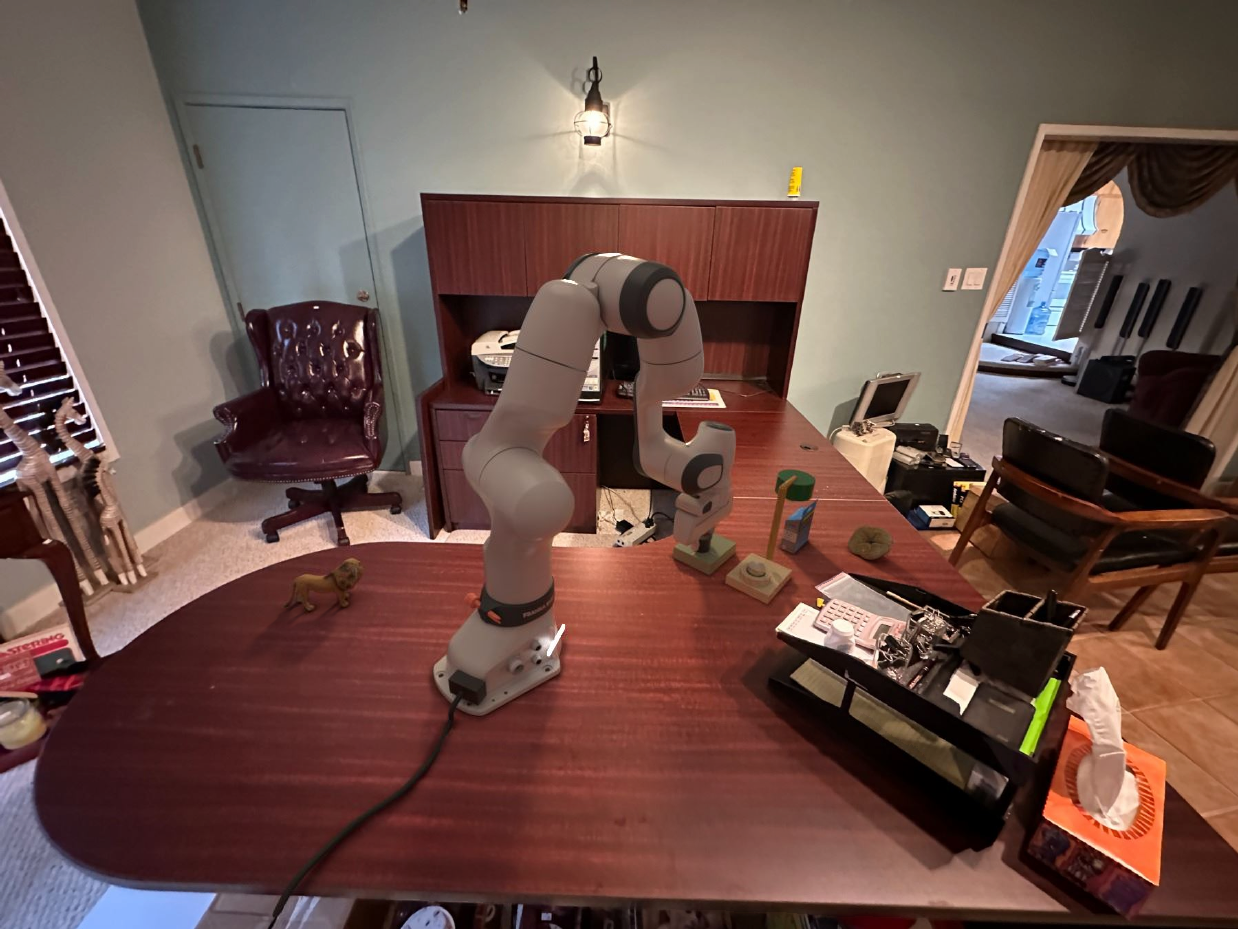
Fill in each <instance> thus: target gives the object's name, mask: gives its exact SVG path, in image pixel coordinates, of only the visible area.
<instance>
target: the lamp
mask: <svg viewBox="0 0 1238 929" xmlns="http://www.w3.org/2000/svg"><path fill="white" fill-rule="evenodd" d="M775 481H776V482H775V485H774V492H775V494H776V495H777V497H776V501H775V507H774V512H773V517H772V521H771V527H770V533H769V535H768V536H769V537H768V542H767V546H766V553H765V557H764V558H765V559H767V560H770V561H772V560H773V559H774V554H775V550H776V545H777V540H778V534H779V530H780V527H781V526H780V525H781V521H782V515H783V511H784V506H785V502H786V500H787V501H789V502H791V503H794V502H801V503H802V502H808V501H810V500H811V499H813V494H814V490H815V486H816V478H815V476H813V475H812V474H810V473H808V472H806V471H804V470H798V469H790V468H789V469H782V470H779V471H778V472H777V476H776V480H775Z"/></svg>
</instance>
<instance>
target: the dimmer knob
mask: <svg viewBox="0 0 1238 929" xmlns="http://www.w3.org/2000/svg"><path fill="white" fill-rule="evenodd" d="M711 537H712V536H711V534H710V533H708V531H707V532H706V533H705V534H703V535H702V536H701V537H700V539H699V542H701V548H700V549H699V550H697V552H700V553H706V552H708V551H709V550H710V544H711Z"/></svg>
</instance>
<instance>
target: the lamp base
mask: <svg viewBox="0 0 1238 929" xmlns="http://www.w3.org/2000/svg"><path fill="white" fill-rule="evenodd" d="M751 561H758V562H761V563H763V564H764V565H765V573H764V576H763V577H754V576H752V575H750V574H748V572H747V569H748V564H749V562H751ZM792 573H793V570H792V569H790V568H788V567H786V566H783V565H781V564H779V563H776V562H774V561H772V560H767V559H766V558H765V557H762V556H760V555H758V554H756V553H754V552H751V553H749V554H748V555H747V556H746V557H745V558H744V559H742V560H741V561H740V562H739V563H738V564H737V565H736V566H735V567H734V568H733V569H731V570H730V571H729V572H728V573H727V574H726V576H725V581H724V584H726V585H727V586H729V587H732V588H733V589H736V590H737V591H740V592H742V593H744V594H746V595H748V596H750V597H752V598H754V599H756V600H758V601H760V602H763V603H764V604H766V605H768V604H769V603H770V602H771V601H772V599H773V598H774V597H775V596H776V595H777V594H778V593H779V592H780V590H781V589H782V588H783V587H784V586H785V585H786V584H787V583H788V581H789V580H790V579H791V577H792Z"/></svg>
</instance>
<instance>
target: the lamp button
mask: <svg viewBox="0 0 1238 929" xmlns="http://www.w3.org/2000/svg"><path fill="white" fill-rule="evenodd" d="M747 572H748V574H750V575H752V576H754V577H763V576H764V573H765V565H764V564H763V563H761V562H758V561H751V562H749V564H748V569H747Z"/></svg>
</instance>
